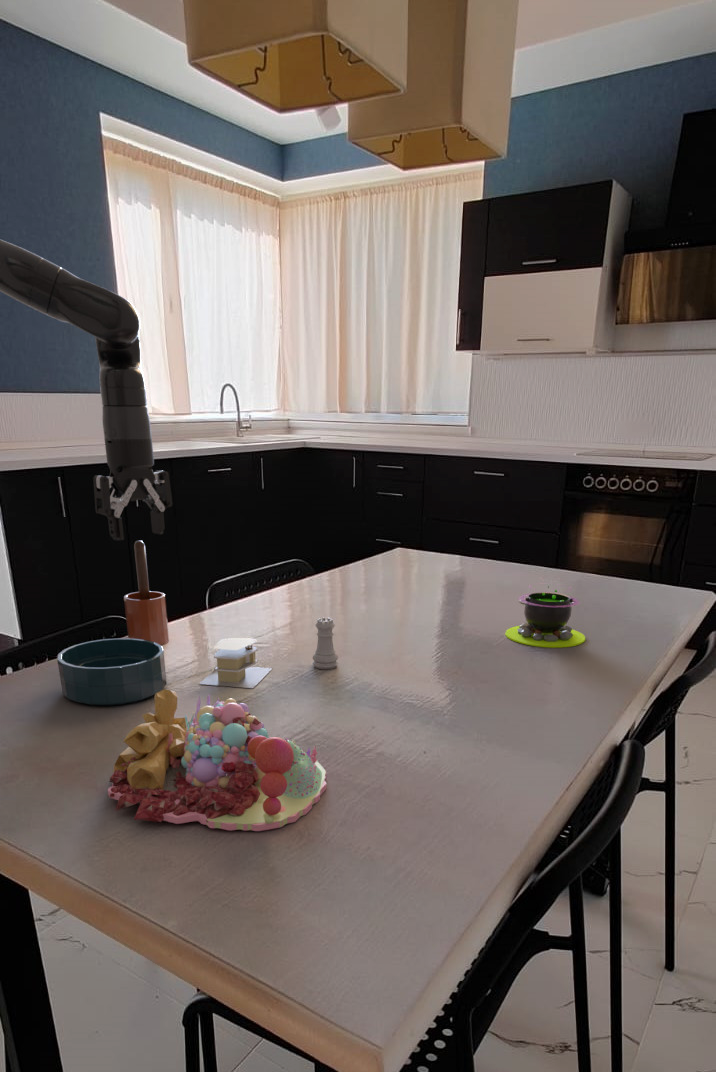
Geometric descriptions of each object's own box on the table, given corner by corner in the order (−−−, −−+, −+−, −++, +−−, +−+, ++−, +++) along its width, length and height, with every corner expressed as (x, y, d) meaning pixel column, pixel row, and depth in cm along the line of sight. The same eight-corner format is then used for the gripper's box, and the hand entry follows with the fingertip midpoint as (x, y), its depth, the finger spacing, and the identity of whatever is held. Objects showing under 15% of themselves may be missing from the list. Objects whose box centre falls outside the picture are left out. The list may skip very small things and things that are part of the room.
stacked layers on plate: (253, 688, 119) (251, 654, 117) (198, 684, 121) (196, 650, 119) (272, 668, 128) (271, 636, 126) (221, 664, 130) (219, 633, 128)
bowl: (42, 693, 116) (36, 655, 114) (124, 668, 128) (120, 633, 125) (105, 716, 108) (100, 675, 106) (187, 687, 119) (184, 650, 117)
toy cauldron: (575, 626, 154) (582, 571, 150) (594, 648, 140) (602, 588, 136) (500, 625, 155) (504, 570, 150) (511, 646, 141) (517, 587, 136)
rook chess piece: (338, 670, 128) (338, 623, 125) (311, 670, 128) (310, 623, 124) (338, 661, 132) (338, 616, 129) (312, 661, 132) (311, 616, 129)
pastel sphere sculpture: (77, 828, 80) (65, 747, 76) (146, 737, 101) (138, 670, 98) (317, 836, 79) (316, 754, 75) (335, 742, 100) (334, 675, 97)
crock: (121, 645, 139) (115, 596, 136) (152, 636, 145) (147, 589, 141) (146, 652, 136) (141, 602, 132) (177, 643, 141) (173, 594, 137)
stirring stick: (139, 640, 140) (129, 540, 133) (147, 638, 141) (137, 539, 134) (150, 643, 138) (140, 542, 131) (158, 641, 140) (148, 540, 133)
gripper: (147, 434, 133) (156, 529, 140) (76, 436, 123) (90, 540, 129) (176, 435, 129) (184, 534, 136) (106, 438, 119) (118, 544, 125)
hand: (138, 536), depth 132 cm, fingers open, 8 cm apart
